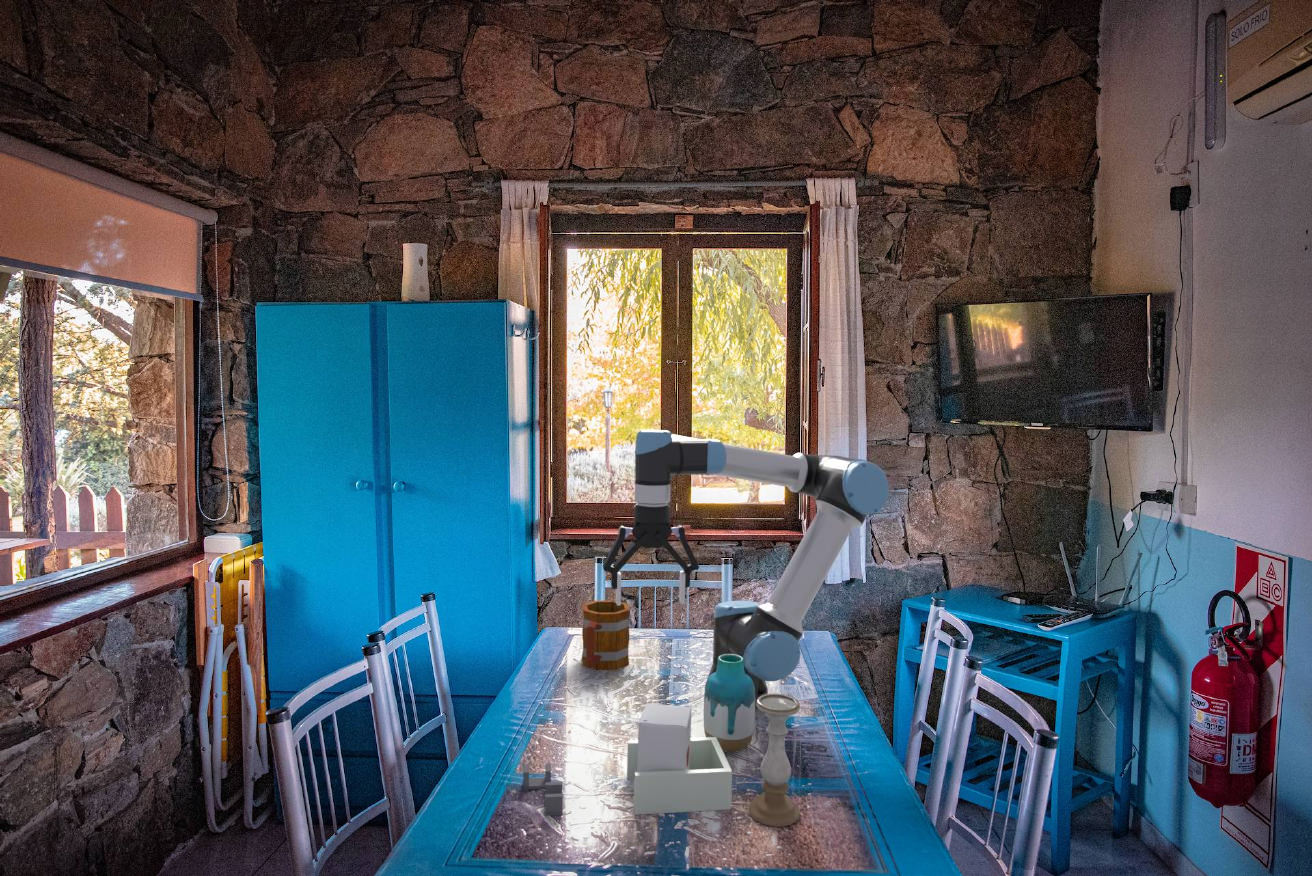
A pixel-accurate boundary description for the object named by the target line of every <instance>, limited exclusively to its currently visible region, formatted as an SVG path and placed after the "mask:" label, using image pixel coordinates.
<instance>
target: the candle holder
mask: <svg viewBox="0 0 1312 876" xmlns="http://www.w3.org/2000/svg"><path fill="white" fill-rule="evenodd" d="M756 706H757V707H756V708H757V709H758V710H760V712H763V713H764V714H765V716H766V718H768V720H769V724H768V726H767V727H765V728H766V729H765V732H766V733H767V734H768V742H767V744H768V746H767V750H766V751H765V754H764V756H763V759H762V760H761V763H760V766H759V772H760V775H761V778H762V779H763V780H762V781H761V784H760V785H761V788H762V789H763V791H764V792H763V793H761V794H759V795H757V796H756V797H755V798H753V799H752V800H751V801H750V803H749V807H748V809H749V814H750V816H751V817H752V818H753V820H755V821H756V822H758V823H760V824H762V825H765V826H768V827H776V828H777V827H778V828H780V827H782V828H783V827H784V828H785V827H788V825H789V826H791V825H792V826H793V825H794V824H795V823H797V821H799V818H800V807H799V806H798V805H797V803H795V802H794V801H793V800H792V799H791V798H790V797H789V796H788V795H786V793H787V792H788V791H789V789H790V786H789V784H788V781H789V779H790V778H791V775H792V766H791V763H790V761H789V758H788V756H787V751H786V747H785V745H786V743H785V740H786V739H785V738H786V735H788V733H789V730H788V728H787V726H786V721H787V720H788V719H789V718H790V716H793V715H796V714H797V713H798V712H800V710H801V704H800V702H799V700H798V699H797V698H795V697H793V696H791V695H787V694H783V693H768V694H765V695H762V696H760V697H758V699H757V701H756ZM793 823H794V824H793Z"/></svg>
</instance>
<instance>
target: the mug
mask: <svg viewBox="0 0 1312 876" xmlns="http://www.w3.org/2000/svg"><path fill="white" fill-rule="evenodd" d="M630 612H631V608H630V604H629V603H625V602H622V601H621V605H618V606H617V604H616V600H594V601H590V602H587V603H584V604H582V615H583V617H582V618H583V619H582V621H583V622H582V632H581V634H582V654H581V666H583V667H585V668H588V669H591V670H594V671H597V672H598V671H617V670H620V669H623V668H624V667H627V666H629V665H630V659H629V647H630V646H629V645H630V615H631V614H630Z"/></svg>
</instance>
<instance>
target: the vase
mask: <svg viewBox="0 0 1312 876" xmlns="http://www.w3.org/2000/svg"><path fill="white" fill-rule="evenodd" d="M708 676H709V675H708ZM708 676H707V678H708V679H707V678H706V681H707V682H706V681H705V684H706V686H705V685H704V696H703V728H704V734H705V736H704V737H716V738H717V740H718V742H719V744H720V746H721V749H722V751H723V753H729V754H730V753H731V754H732V753H737V752H742V751H744V750H745V749H747V747H749V746H750V744H751V742H752V739H753V737H754V732H755V721H756V707H755V687H754V683H753V681H752V679H751V678H750V677H749V676H748V675H746V674H745V672H744V659H743V657H741V656H739V655H735V654H724V655H721V656H719V657H718V663H717V670H716V672H715V673H713V674H711V675H710V676H709V677H708Z"/></svg>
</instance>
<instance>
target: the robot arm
mask: <svg viewBox="0 0 1312 876" xmlns="http://www.w3.org/2000/svg"><path fill="white" fill-rule="evenodd" d="M634 457H635V458H634V463H635V465H634V466H635V467H634V469H635V470H634V471H635V472H634V478H635V479H634V502H635V503H636V504H634V506H633V507H634V508H633V509H634V510H633V512H634V513H633V526H632V527H627V526H624V525H620V526H619V527H618V531H617V536H616V539H615V540H614V543H613V544H612V547H611V548H610V550H609V552H608V554H607V556H606V557H605V560H604V562H603V564H602V568H603V571H604V572H609V573H610V585H611V589H613V590H615V601H616V604H617V606H618V605H621V602H622V596H621V594H622V573H621V571H620V570H622V568H623V567H624V566H625V565H626V563H628V561H629V560H630V559H631V558H632V557H633V556H634V554H636V552H637V551H639V549H641V547H642V548H644V549H651V548H654V549H660V548H661V547H664V548H665V549H666V550H667V551H668V553H669V554H670V555H671V557H673V559H674V560H675V561H676V562H677V563H678V565H679V566H680V567H681V568H682V570H679V580H678V581H679V583H678V585H679V587H678V589H679V590H678V601H679V603H680V604H681V605H685V603H686V588H690V585H691V573H692V572H694V571H698V570H699V568H700V565H699V563H698V561H697V559H696V557H695V555H694V553H693V551H692V548H691V546H690V544H689V543H688V540H687V538H686V530H685V527H684V526H683V525H682V524H678V526H674V527H671V524H670V523H671V520H670V519H671V506H670V505H669V503H670V502H671V481H672V480H671V478H672V476H680V475H681V476H683V475H684V476H685V475H687V476H692V475H693V476H695V475H696V476H697V475H699V476H701V475H702V476H703V475H706V476H710V475H715V476H721V477H725V478H732V479H734V478H735V479H740V480H744V481H745V480H746V481H751V482H755V483H756V482H757V483H762V484H768V485H775V486H779V487H785V488H787V489H788V490H789V491H790V492H792V493H795V494H802V495H805V496H809V497H811V498H814V499H816V500H815V502H814V503H815V505H816V508H817V512H816V514H815V515H814V517H813V519H812V521H811V522H810V524H809V526H808V527H807V530H806V531H805V533H804V534H803V537H802V539H801V541H800V542H799V545H797V548H796V550H795V551H794V553H793V555H792V557H791V559H790V561H789V562H788V563H787V566H786V568H785V569H784V571H783V573H782V575H781V577H780V578H779V581H778V582H777V583H776V586H775V587H774V589H773V591H772V593H771V595H770V596H769V598H768V600H767V602H765V603H760V602H757V601H750V600H728V601H723V602H720V603H718V604H716V605H715V607H714V612H713V639H712V641H713V645H712V653H713V654H712V665H711V668H710V670H709V673H708V676H707V678H706V681H705V685H704V687H705V686H706V682H707V679H708V677H709V676H710V675H711V674H713V673H715V672H716V670H717V663H718V657H719V656H721V655H724V654H735V655H739V656H741V657H743V659H744V672H745V674H746V675H748V676H749V677H750V678H751V679H752V681H753V683H754V687H755V708H757V706H756V701H757V699H758V697H760V696H762V695H765V694H769V693H768V692H769V690H768V685H767V682H777V681H780V680H783V679H785V678H787V677H789V676H790V675H791V674H792V673H793V672H794V671H795V670H796V668H797V667H798V665H799V662H800V660H801V654H802V652H801V650H800V649H801V648H800V647H801V646H800V644H799V642H800V640H801V638H802V636H803V634H804V629H803V625H802V621H803V620H804V618H805V616H806V614H807V612H808V611H809V609H810V607H811V606H812V603H813V601H814V599H815V598H816V596H817V594H818V592H819V590H820V588H822V585H823V583H824V581H825V580H826V578H827V576H828V574H829V572H830V570H831V568H832V567H833V565H834V563H835V561H836V559H837V557H838V555H840V551H841V550H842V548H843V546H844V544H845V543H846V541H847V539H848V537H849V536H850V534H851V532H852V530H853V529H857V528H860V527H862V526H863V524H864V523H865V520H866V519H867V516H869V515H873V514H875V513H878V512H880V511H881V510H882V509H883V507H885V505H886V503H887V501H888V498H889V494H890V493H889V492H890V488H889V487H890V486H889V482H888V478H887V476H886V473H885V471H884V470H883V469H882V467H880V466H878V465H877V464H876V463H873V462H871V461H867V460H866V459H859V458H857V459H856V458H851V457H846V456H839V455H832V454H831V455H826V454H824V455H823V454H821V455H820V454H819V455H818V454H806V453H802V452H797V453H795V454H793V455H789V454H783V453H778V452H774V451H773V452H772V451H767V450H761V449H755V448H750V447H746V446H745V447H744V446H739V445H735V444H734V445H733V444H729V443H723V442H722V441H721V440H719V439H711V438H708V439H704V438H703V439H700V438H696V437H695V438H694V437H690V436H684V435H680V434H675V433H672V432H671V431H670V430H665V429H664V430H663V429H642V430H639V431H638V432H637V433H636V436H635V449H634ZM630 534H632V536H633V538H634V539H633V541H632V542H631V544H630V545H629V546H628V548H627V549H626V550H625V551H624V552H623V553H622V554H621V556H620V557H619V558H618V559H617V560H616V562H615V563H614V561H615V559H616V557H617V556H618V553H619V551H620V549H621V547H622V545H623V544H624V541H625V539H627V538H629V535H630ZM672 534H674V536H675V537H676V538H677V539H678V540H679V542H680V544H681V546H682V549H683V551H684V553H685V554H686V557H687V559H688V562H689V564H687V563H686V562H685V561H684V559H683V558H682V556H681V555H680V554H679V553H678V552H677V551H676V549H675V548H674V547H673V546H672V545H671V544H670V542H669V541H668V539H669V538H670V536H671V535H672ZM613 563H614V564H613ZM612 564H613V565H612Z"/></svg>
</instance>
